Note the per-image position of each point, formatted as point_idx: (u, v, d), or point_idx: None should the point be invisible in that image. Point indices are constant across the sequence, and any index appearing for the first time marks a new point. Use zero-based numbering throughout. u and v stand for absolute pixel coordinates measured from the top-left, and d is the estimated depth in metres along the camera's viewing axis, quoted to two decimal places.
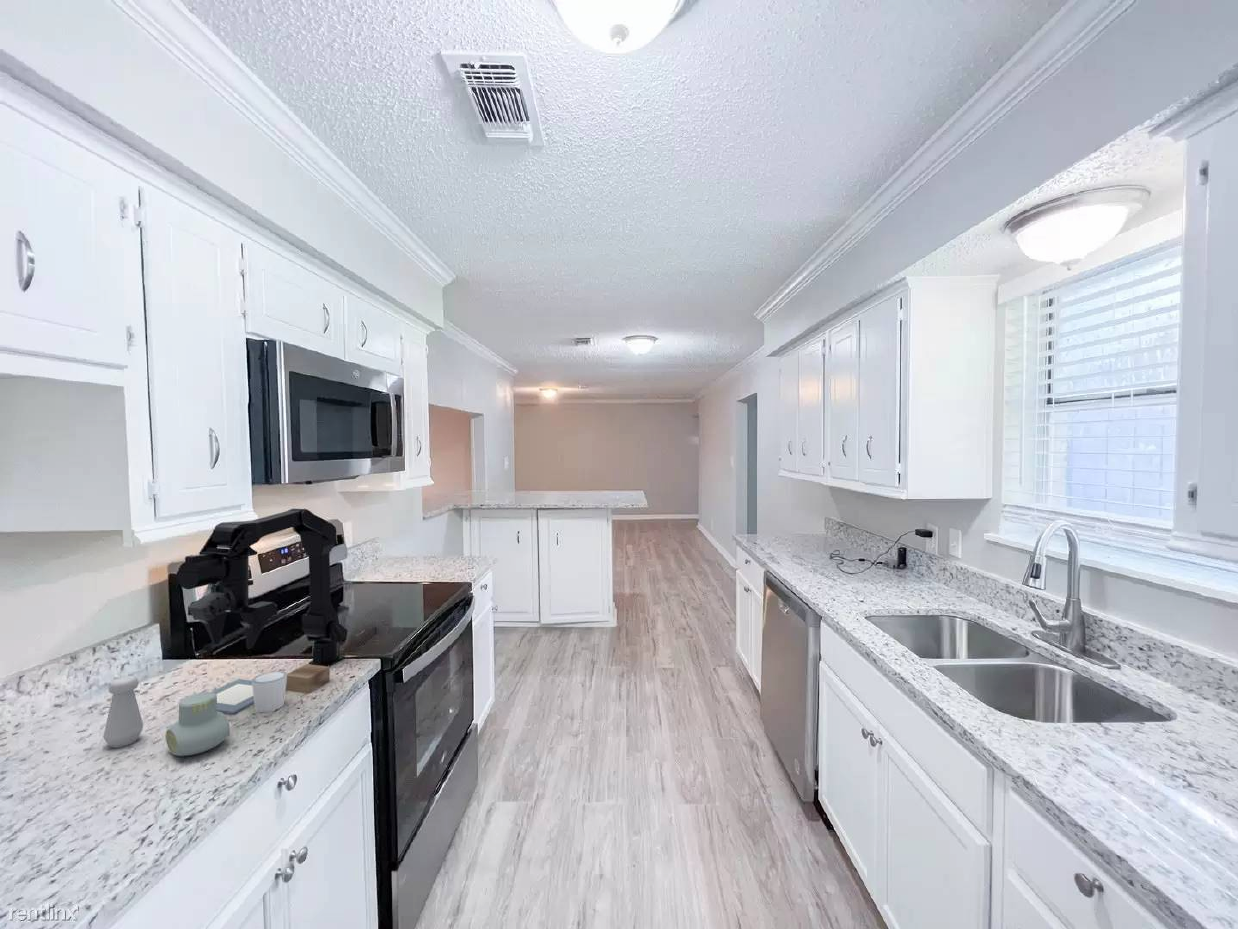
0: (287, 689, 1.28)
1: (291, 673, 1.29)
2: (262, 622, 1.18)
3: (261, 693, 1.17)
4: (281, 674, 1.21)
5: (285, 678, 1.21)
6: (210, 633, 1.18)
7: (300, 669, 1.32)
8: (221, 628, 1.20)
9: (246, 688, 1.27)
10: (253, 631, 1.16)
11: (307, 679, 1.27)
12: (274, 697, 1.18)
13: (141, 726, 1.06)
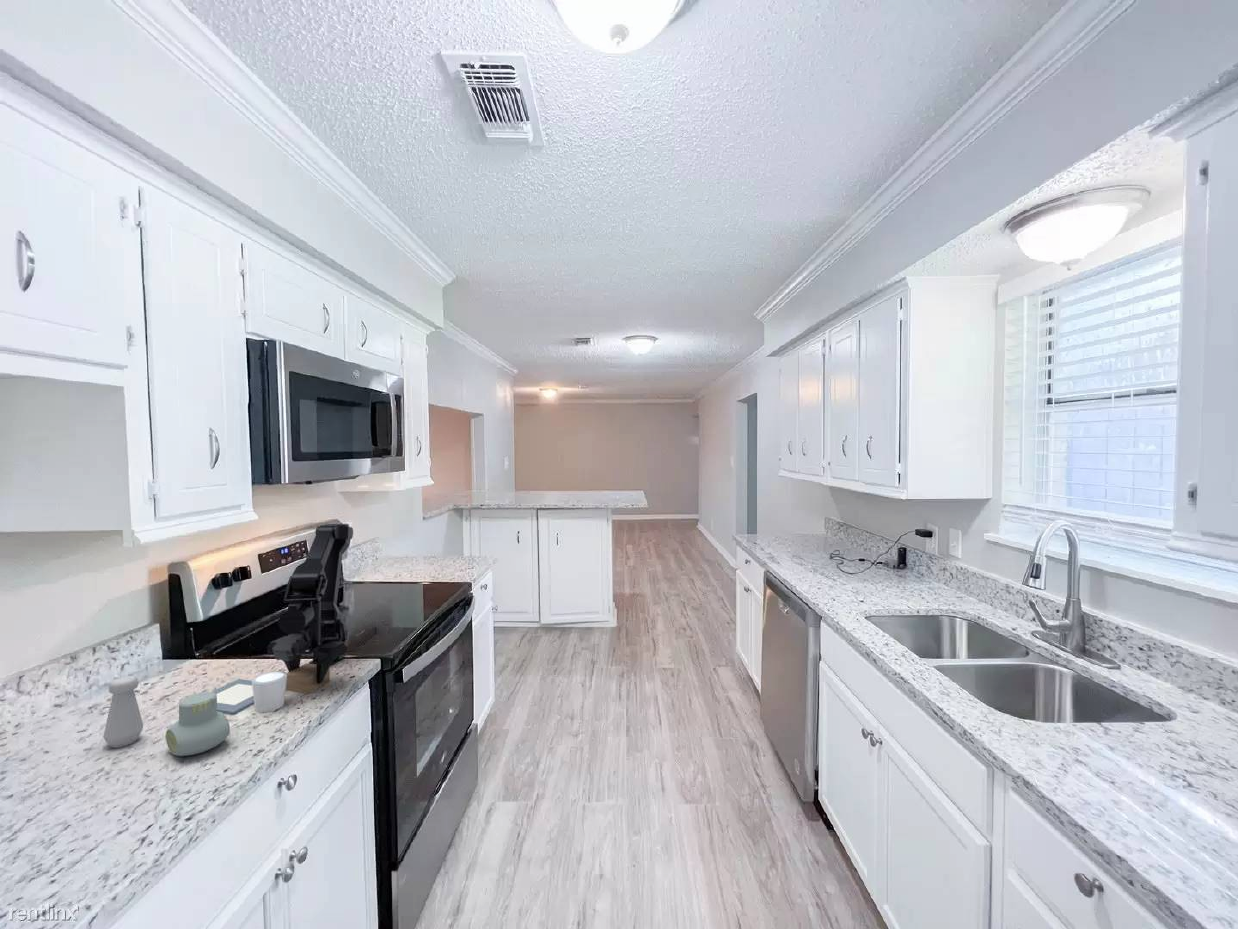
0: (287, 688, 1.28)
1: (291, 672, 1.29)
2: (330, 659, 1.31)
3: (261, 693, 1.17)
4: (281, 674, 1.21)
5: (285, 678, 1.21)
6: (289, 670, 1.31)
7: (300, 668, 1.32)
8: (298, 665, 1.33)
9: (246, 688, 1.27)
10: (323, 668, 1.30)
11: (307, 678, 1.27)
12: (274, 697, 1.18)
13: (141, 726, 1.06)
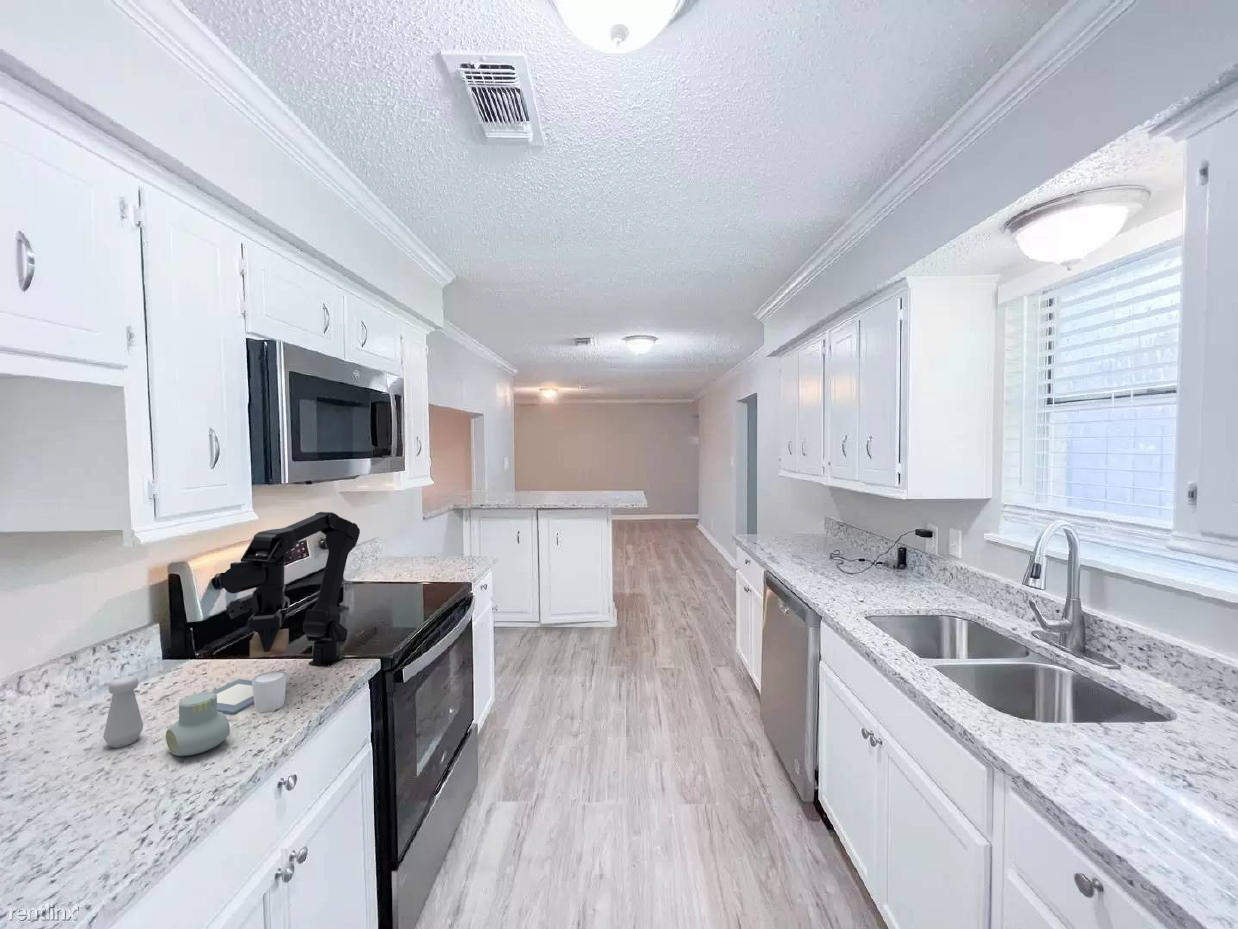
0: None
1: None
2: (273, 630, 1.22)
3: (261, 693, 1.17)
4: (281, 674, 1.21)
5: (285, 678, 1.21)
6: None
7: None
8: None
9: (246, 688, 1.27)
10: (265, 636, 1.22)
11: (250, 642, 1.22)
12: (274, 697, 1.18)
13: (141, 726, 1.06)
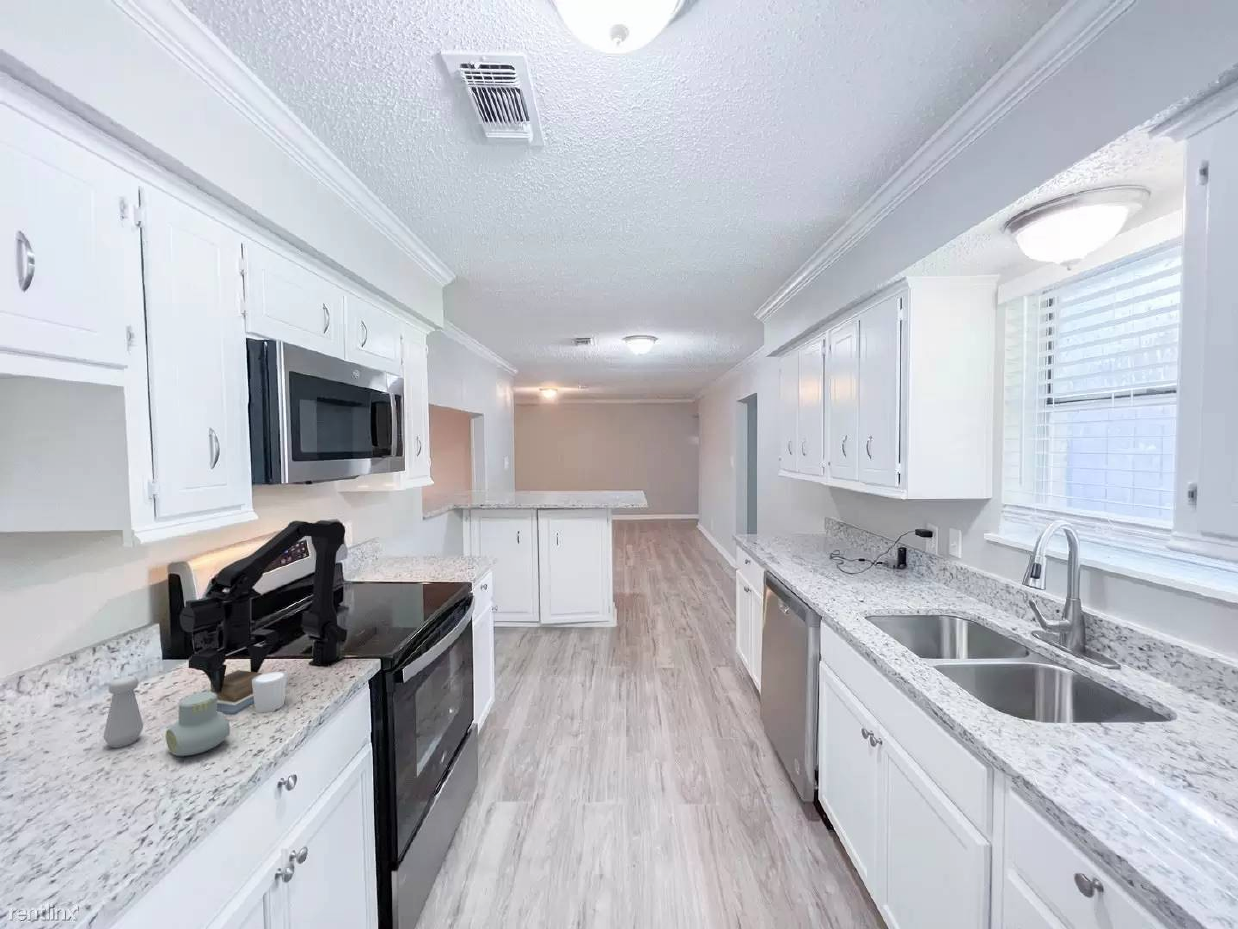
0: None
1: (240, 671, 1.27)
2: (216, 672, 1.18)
3: (261, 693, 1.17)
4: (281, 674, 1.21)
5: (285, 678, 1.21)
6: None
7: (246, 673, 1.26)
8: (258, 663, 1.29)
9: None
10: (212, 677, 1.19)
11: None
12: (274, 697, 1.18)
13: (141, 726, 1.06)
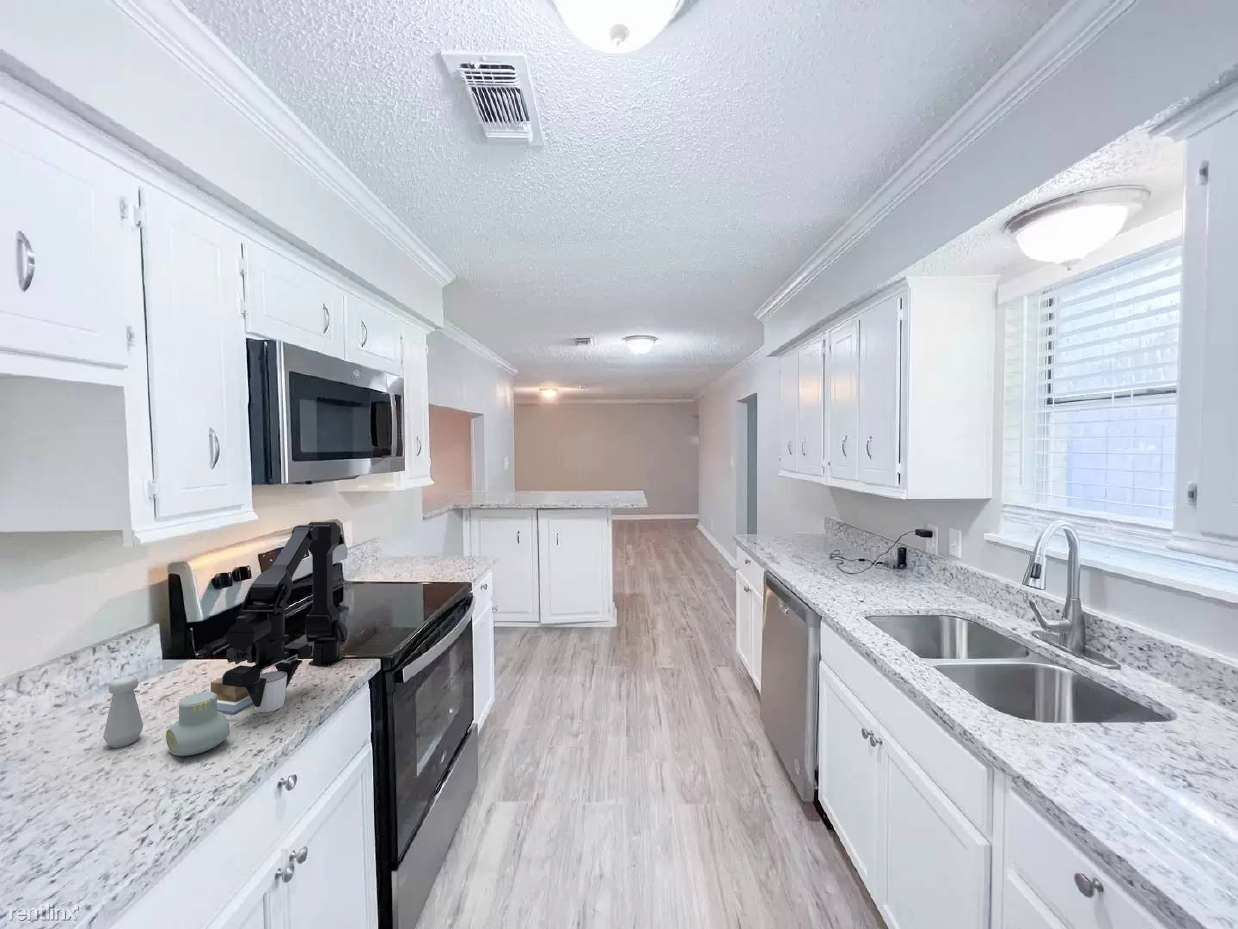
0: None
1: None
2: (256, 686, 1.15)
3: None
4: (281, 674, 1.21)
5: (285, 678, 1.21)
6: None
7: None
8: None
9: None
10: (251, 691, 1.16)
11: None
12: (274, 697, 1.18)
13: (141, 726, 1.06)
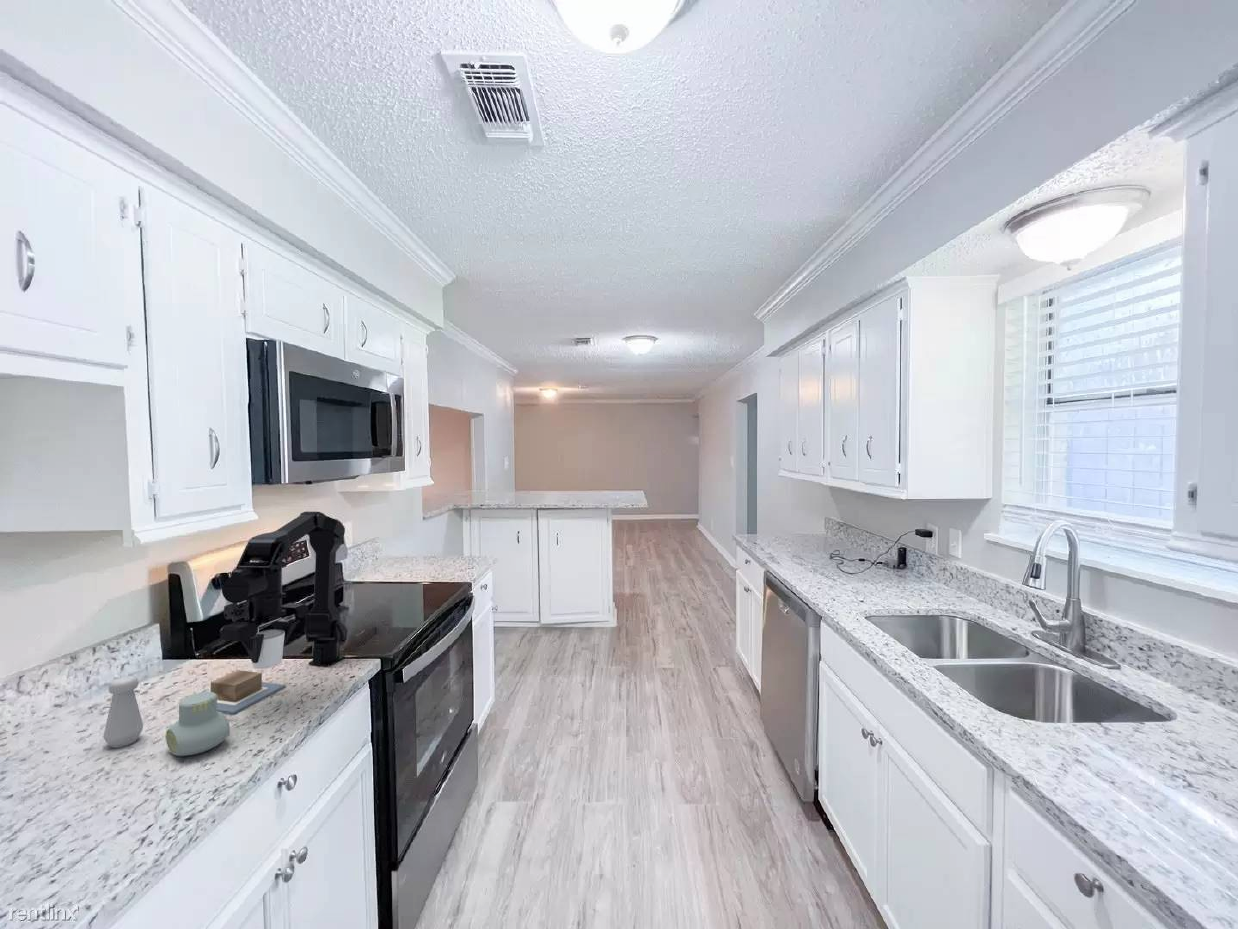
0: None
1: (240, 671, 1.27)
2: (253, 642, 1.15)
3: None
4: (279, 632, 1.21)
5: (283, 635, 1.21)
6: None
7: (246, 673, 1.26)
8: None
9: None
10: (249, 647, 1.16)
11: None
12: (272, 654, 1.18)
13: (141, 726, 1.06)
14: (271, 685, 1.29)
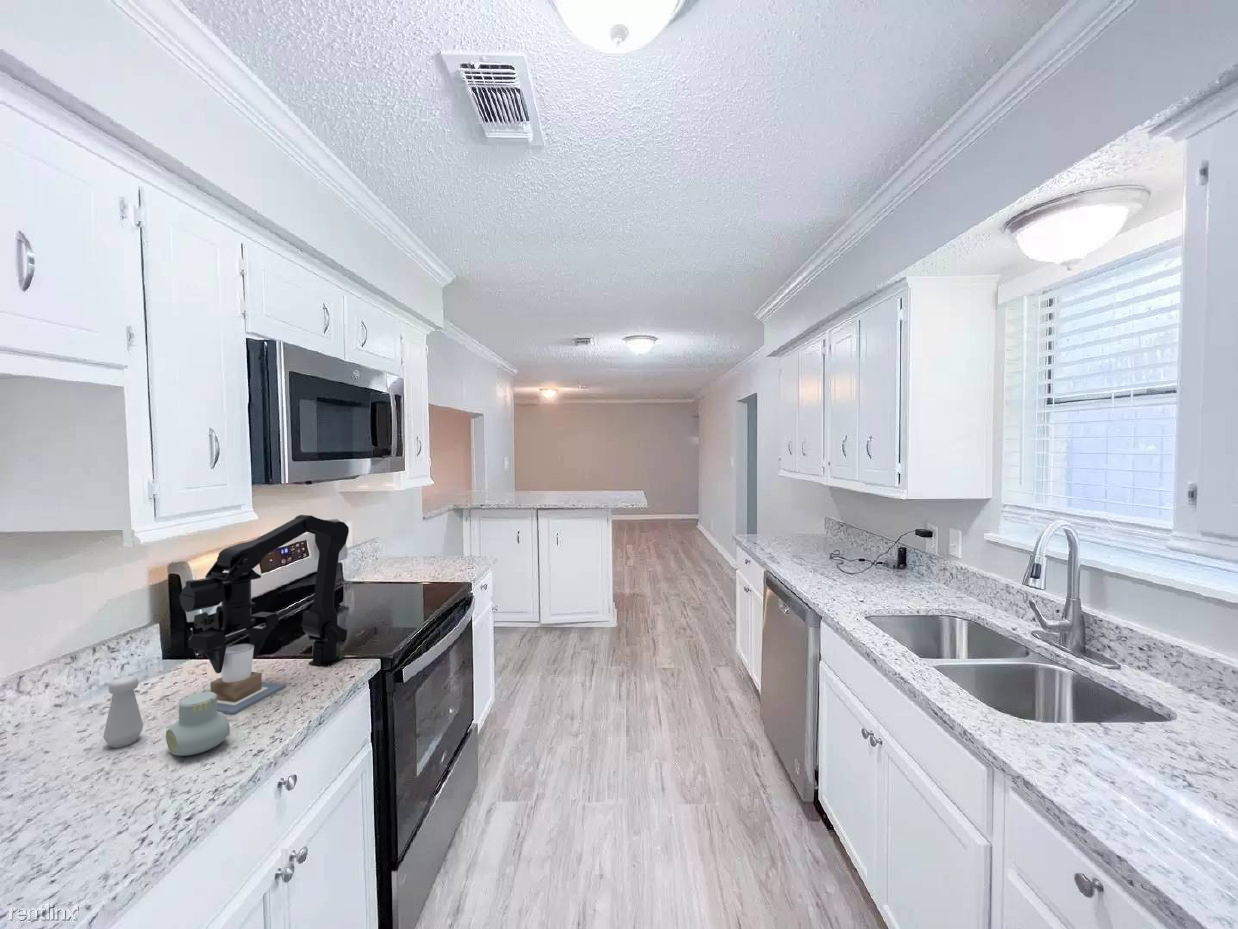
0: None
1: None
2: (216, 652, 1.18)
3: (227, 663, 1.21)
4: (248, 647, 1.25)
5: (252, 650, 1.25)
6: None
7: None
8: (258, 645, 1.28)
9: None
10: (212, 657, 1.19)
11: None
12: (240, 668, 1.22)
13: (141, 726, 1.06)
14: (271, 685, 1.29)
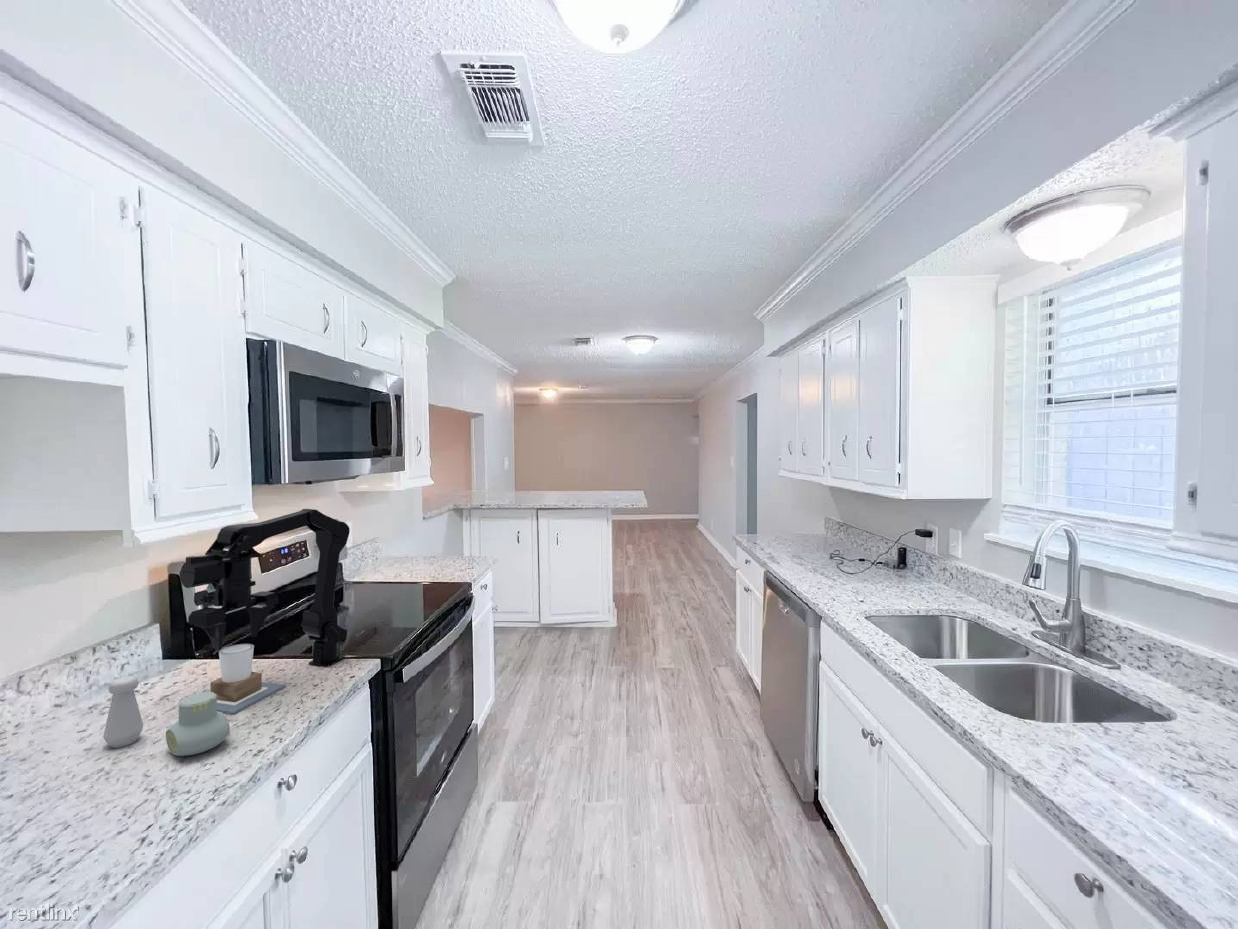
0: None
1: None
2: (216, 629, 1.17)
3: (227, 663, 1.21)
4: (248, 647, 1.25)
5: (252, 650, 1.25)
6: None
7: None
8: (258, 623, 1.28)
9: None
10: (212, 634, 1.18)
11: None
12: (240, 668, 1.22)
13: (141, 726, 1.06)
14: (271, 685, 1.29)
